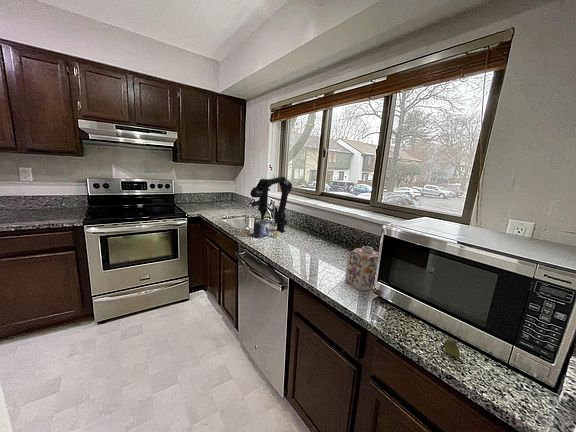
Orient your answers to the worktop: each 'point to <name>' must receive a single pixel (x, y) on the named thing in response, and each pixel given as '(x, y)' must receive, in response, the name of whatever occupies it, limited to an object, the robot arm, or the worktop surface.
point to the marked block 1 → (245, 232)
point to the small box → (261, 229)
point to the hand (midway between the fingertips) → (262, 218)
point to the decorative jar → (362, 268)
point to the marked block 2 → (276, 234)
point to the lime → (451, 347)
